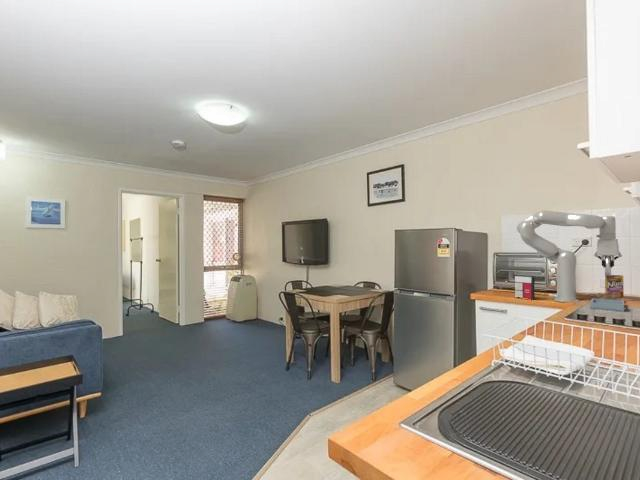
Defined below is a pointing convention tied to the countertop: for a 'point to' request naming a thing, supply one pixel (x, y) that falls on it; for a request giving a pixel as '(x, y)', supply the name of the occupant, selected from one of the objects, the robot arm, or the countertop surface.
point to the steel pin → (607, 265)
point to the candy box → (614, 285)
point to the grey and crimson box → (524, 286)
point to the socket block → (608, 296)
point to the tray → (607, 304)
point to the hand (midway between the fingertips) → (607, 267)
